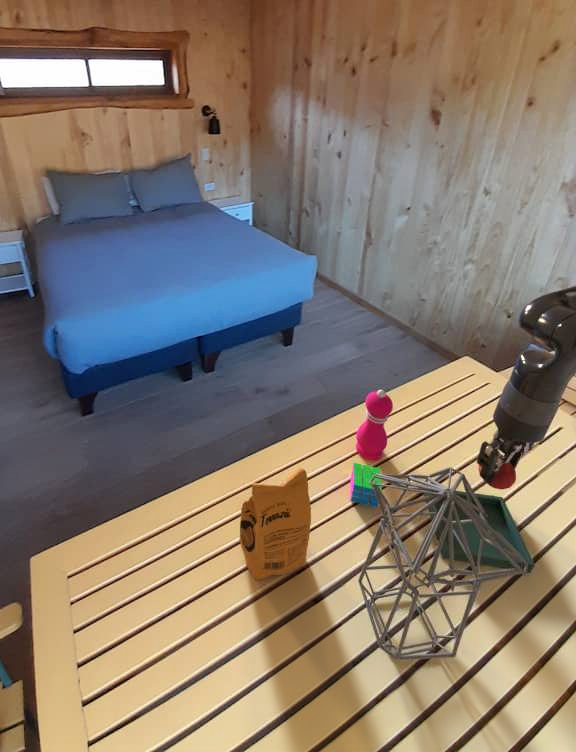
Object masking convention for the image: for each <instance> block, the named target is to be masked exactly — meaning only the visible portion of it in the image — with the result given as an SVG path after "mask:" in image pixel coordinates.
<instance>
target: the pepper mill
mask: <svg viewBox="0 0 576 752" xmlns="http://www.w3.org/2000/svg"><path fill="white" fill-rule="evenodd" d="M393 407H394V404H393V401H392V399H391V396H389V395H388V394H387V393H386V392H385V391H384V390H383V389H379V390H377V391H372V392H370V393H369V394H368V395H367V397H366V398H365V416H366V419H365V421H363V422H362V424H361V425H359V427H358V429H357V431H356V433H355V438H356V439H355V440H356V445H355V449H356V452H357V454H358V455H359V456H360V457H361V458H362V459H365V460H366V461H370V462H375V461H379V460H381V459H382V457H383V453H384V450H385V449H386V448H387V446H388V435H387V432H386V430H385V423H386V422H388V420H389V415H390V414H391V413H392V411H393V409H394V408H393Z"/></svg>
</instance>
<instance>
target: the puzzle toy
mask: <svg viewBox="0 0 576 752" xmlns="http://www.w3.org/2000/svg"><path fill="white" fill-rule="evenodd" d="M376 473H377V474H382V473H381V468H380V467H375V466H371V465H366V464H362V463H358V462H353V465H352V470H351V474H350V502H353V503H357V504H361V505H364V506H369V507H373V508H376V509H378V508H379V503H378V500H377V497H376V494H375V491H374V488H373V485H370V484H369V482H370V481H371V479H372V477H373V476H374V475H375V474H376ZM373 481H375V482H376V483H377V484H382V479H379V478H374V480H373ZM378 487H379V488H380V490H381V492H382V493H383V489H382V488H383V487H382V486H378Z"/></svg>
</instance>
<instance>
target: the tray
mask: <svg viewBox="0 0 576 752" xmlns="http://www.w3.org/2000/svg"><path fill="white" fill-rule="evenodd" d="M450 490H451V489H450ZM450 490H449V491H450ZM425 491H428V492H433V491H429V490H425ZM435 493H437V492H435ZM454 493H455V494H456V495H458V496H460V497H462V498H463V499H465V500H467V496H466V492H465V491H463V490H462V491H460V490H456V491H455V492H454ZM469 493H470V492H469ZM474 493H475V495H476V497H477V498H478V500H479V502H480V504H481V505H482V507H483V509H484V511H485V513H486V514H487V515H488V516H487V517H486V520H487V522H488V524H489V525H490V527H491V528H493V529H494V530H496V531H498V532H499V533H500V534H501V535H502V536H503V537H504V538H505V539H506V540H507V541H508V542H509V543H510V544H511V545H512V546H513V547H514V548H515V549H516V550H517V551H518V552H519V553H520V554H521V555H522V557H523V559H524V560H525V561H526V562H527V563H528V568H527V573H526V574H531V573H532V571H533V570H534V568H535V566H536V564H535V562H534V561H535V560H534V559H533V558H532V555H531V554H530V551H529V549H528V547H527V545H526V543H525V541H524V539H523V537H522V534H521V532H520V530H519V527H518V526H517V524H516V522H515V520H514V517H513V516H512V514H511V512H510V509H509V507H508V505H507V503H506V501H505V500H504V498H503V496H496V495H491V494H482V493H476V492H474ZM422 495H423V497H426V496H425V494H424V493H422ZM429 495H432V494H427V496H429ZM470 496H471V500H472V504H474V505H475V506H477V504H476V502H475V500H474V499H473V497H472V495H471V493H470ZM445 497H446V496H445ZM445 497H444V498H443V499H441V500H440V501H439V502H437V503H436V504H435V505H434V507H435V508H436V510H437V512H439V510H440V508H441V506H442V504H443V502H444V500H445ZM432 500H433V499H432ZM432 500H430V501H432ZM467 501H468V500H467ZM424 503H425V505H426V504H428V503H429V501H425V502H424ZM455 507H456V510H457V513H458V516H459V519H460V520H471V519H470V518H469V517H468V516H467V515H466V514H465V513H464V511H463V510H462V509H461V508H460V507H459V506H458V505H457V504H456V503H455ZM477 507H478V506H477ZM474 511H475V512H476V513H477V514H478V515H479V516H480V512H478V511H477V510H475V509H474ZM430 512H435V510H434V509H433V507H430V508H429V509H428V510H427V513H430ZM434 516H435V515H429V518H430V523H432V520H433V518H434ZM443 517H444V518H446V519H447V518H448V507H447V509H446V511H445V513H444V515H443ZM452 521H455V518H454V515H453V512H452ZM477 521H478V520H477ZM480 524H481V523H480ZM445 525H446V523H445V522H444V521H443V520H441V522H440V524H439V527H438V529H437V531H436V533H435V538H436V541H438V542H437V545H438V544H439V541H440V538H441V536H442V533H443V530H444V528H445ZM461 525H462V528H463V531H464V534H465V537H466V540H467V543H468V546H469V548H470V551H471V554H472V557H473V560H474V563H475V565H477V562H478V554H479V547H480V540H481V539H482V537H481V535H480V533H479V531H478V529H477V527H476V526H475V524H474V523H469V524H461ZM481 525H482V524H481ZM482 526H483V525H482ZM483 527H484V528H485V529H486V531H487V532H488V530H487V528H486V527H485V526H483ZM453 528H454V530H455V531H456V533H457V535H458V536H459V538H460V540H461V542H462V543H463V541H462V538H461V535H460V532H459V530H458V527H457V525H453ZM488 533H489V532H488ZM485 536H486V535H485ZM492 537H493V536H492ZM486 538H487V537H486ZM487 539H488V538H487ZM482 540H483V539H482ZM496 541H497V542H498V544H499V545H500V546H502V547H504V548H506V549H508V550H510V549H509V548H508V547H507V546H506V545H505V544H504V543H503V542H502V541H501V540H500V539H499V538H497V539H496ZM463 545H464V544H463ZM453 548H454V562H461V563H467V564H470V562H469V559H468V557H467V555H466V554H465V552H464V550H463V548H462V547H461V545H460V543H459V541H458V540H457V538H456V536H455V534H454V533H453ZM510 551H511V550H510ZM440 555H441V558H442V559H443V560H448V561H449V535H448V531H447V534H446V536H445V539H444V542H443V545H442V548H441V551H440ZM509 556H510V555H509ZM510 557H511V558H512V559H513V560H514V561H515V562H516V563H517V564H518V565H519V566H520V567H521V569H522V570H523V572H524V567H525V563H524V562H523V561H520V560H518V559H516V558H514V557H512V556H510ZM480 566H485V567H491V568H497V569H501V570H506V569H514V568H515V567H514V566H513V565H512V564H511V563H510V562H509V560H508V559H507V558H506V557H505V556H504V555H503V554H502V553H501V552H500V551H499V550H498V549H497V548H495V547H494V546H492V545H490V544H488V543H486V542H484V540H483V544H482V551H481V559H480Z"/></svg>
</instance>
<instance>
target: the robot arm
mask: <svg viewBox="0 0 576 752" xmlns="http://www.w3.org/2000/svg"><path fill="white" fill-rule="evenodd" d="M518 326H519V328H520V330H522V331H523V333H525V334H526V335H527V336H529V337H531V338H532V339H534V340H535V341H537V342H538V343H541V345H543V346H545V347H547V348H548V349H549V350H551V351H553V352H554V353H553V352H549V351H546V350H543V349H534V348H533V349H531V348H530V349H526V350H523V351H522V352H521V353H520V354H519V355H518V357H517V359H516V361H515V364H514V367H513V369H512V372H511V375H510V376H509V379H508V380H507V381H506V383H505V385H504V387H503V389H502V392H501V394H500V397H499V399H498V402H497V404H496V407H495V408H494V412H493V414H492V419H493V422H494V424H495V426H496V428H497V430H495V432H494V433H493V436H492V437H493V438H492V439H491V441H490V442H488V441H486V440H485V441H483V442H481V445H480V449H479V453H478V457H477V460H476V464H477V465H478V466H479V465H480V466H481V467H482V469H481V471H480V473H479V477H480V478H481V479H482V478H483V479H484V480H485V481H486V482H487V483H489V484H491V483H493V482H494V479H495V477H496V475H497V473H498V471H499V469H500V467H501V466H502V465H503V463H508V462H509V461H510V463H511V464H512V465H513V467H514V468H515V469H516V468H517V466H518V465H519V462H520V460H521V458H522V457H524V456H526V452H529V451H531V450H533V447H534V446H535V444H537V443H539V442H542V441H543V440H544V439H545V437H546V435H547V433H548V430H549V429H550V427H551V425H552V423H553V421H554V418H555V416H556V414H557V413H558V411H559V407H560V403H561V399H562V398H563V395H564V394H565V391H566V390H567V387H568V385H569V383H570V382H571V380H572V379H573V378H574V377H575V376H576V285H573V286H570V287H567V288H562V289H559V290H556V291H552V292H548V293H546V294H543V295H541V296H538V297H536V298H535V299H532V300H531V301H529V302H528V303H527V304H526V305H525V306H524V307H523V308H522V310H521V312H520V314H519V316H518ZM501 453H502V455H501ZM497 459H498V462H497ZM496 463H497V464H496ZM483 479H482V480H483ZM484 480H483V481H484ZM485 481H484V482H485ZM486 482H485V483H486ZM487 483H486V484H487Z"/></svg>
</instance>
